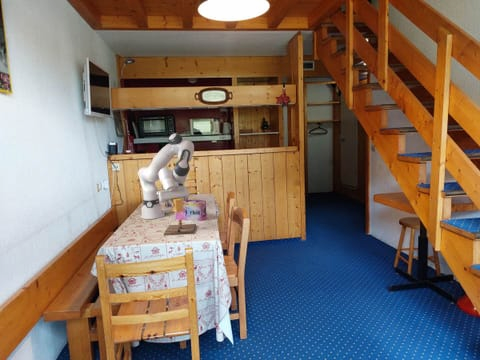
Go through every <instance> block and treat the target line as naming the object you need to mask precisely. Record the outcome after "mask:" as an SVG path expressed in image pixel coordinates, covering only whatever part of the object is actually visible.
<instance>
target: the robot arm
mask: <svg viewBox="0 0 480 360" xmlns="http://www.w3.org/2000/svg"><path fill="white" fill-rule="evenodd" d="M167 142H168V143H167V144H166V145H165V146H163V147H162V148H161V149H160V150H159V151H158V152H157V153H156V154H155V156H153V158H152V161H151V163H150V165H148V166H143V167H140V168H139V169H138V171H137V177H138V179H139V182H140V185H141V190H142V196H143V197H142V206H141V215H140V216H139V217H140V219H143V220H153V219H159V218H163V217H165V216H166V214H165V213H166V212H165V211H164V210H163V209H162V205H161V204H160V203H165V202H169V203H170V204H171V205H172V206H171V207H173V206H175V204H174V203H173V202H172V199H177V198H181V199H183V204H184V199H186V198H188V199H190V195H191V194H190V193H191V192H189V190H188V187H186V186H185V182H186V180H187V177H188V174H189V171H190V169H191V168H190V162H191V161H192V159H193V157H194V153H195V145H194V143H193V142H192V141H191V140H186V139H184V137H183V136H182V135H181V134H180V133H178V132H174V133H172V134H170V136H168V140H167ZM176 155H177V159H178V161H176V163H175V164H174V168H173V170H172V169H170V168H168V167H167V165H169V162H171V160H172V159H173V158H174V157H175V156H176ZM157 181H159V182H160V183H161V185H162V189H158V187H157V185H156V183H155V182H157Z"/></svg>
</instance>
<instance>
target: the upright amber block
mask: <svg viewBox="0 0 480 360" xmlns="http://www.w3.org/2000/svg"><path fill="white" fill-rule="evenodd" d="M172 202H173V203H174V204H175V206H172V212H174V213H175V212H176V213H178V212H183V211H184V208H183V199H181V198H177V199H172ZM176 213H175V214H176Z"/></svg>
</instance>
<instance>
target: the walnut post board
mask: <svg viewBox="0 0 480 360" xmlns="http://www.w3.org/2000/svg"><path fill="white" fill-rule="evenodd" d="M177 220H178V221H177V222H178V224H169V225H168V227H166V229H165V231H164V232H163V236H177V235H178V236H179V235H193V234H194V232H195V231H196V230H195V229H196V227H197V223H187V224H182V223H183V221H182V219H177Z"/></svg>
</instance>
